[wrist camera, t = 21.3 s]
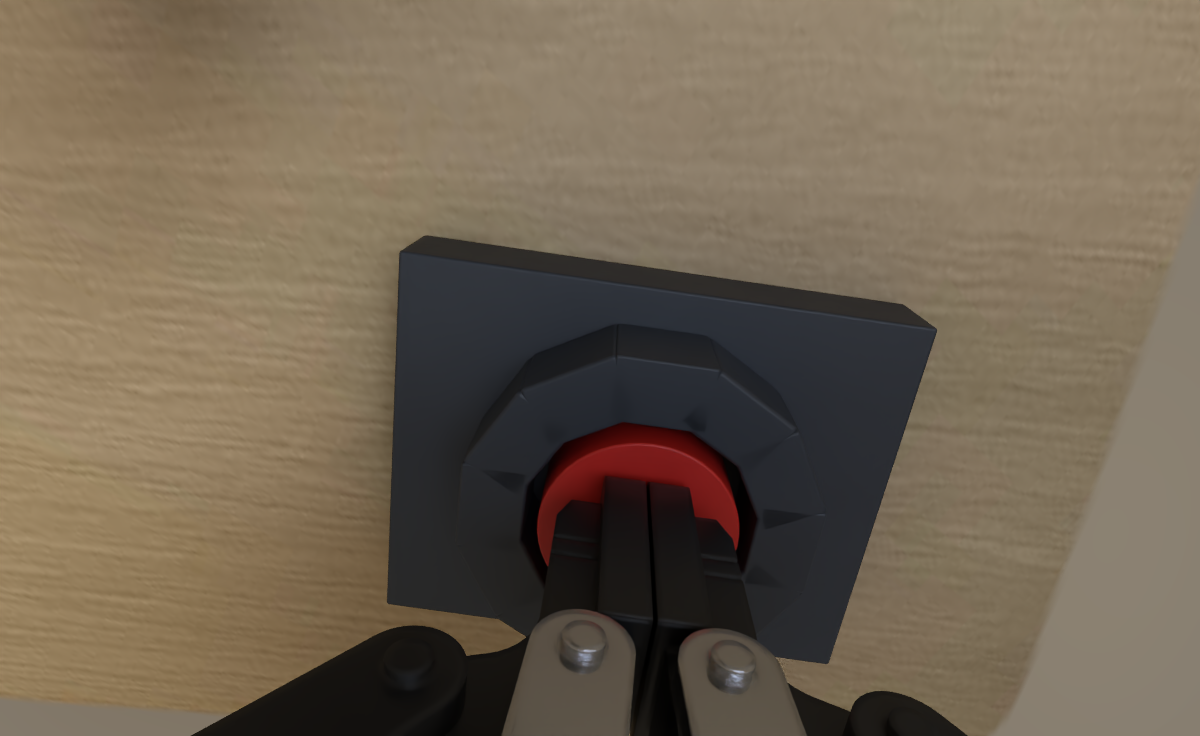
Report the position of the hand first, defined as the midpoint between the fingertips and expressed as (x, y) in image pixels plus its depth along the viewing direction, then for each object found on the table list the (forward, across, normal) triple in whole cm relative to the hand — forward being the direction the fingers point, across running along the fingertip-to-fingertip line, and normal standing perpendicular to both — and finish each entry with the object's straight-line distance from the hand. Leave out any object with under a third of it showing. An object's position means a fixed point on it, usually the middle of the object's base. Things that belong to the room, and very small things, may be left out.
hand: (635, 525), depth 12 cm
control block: (+4, 0, 0) cm, 4 cm away
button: (+2, 0, 0) cm, 2 cm away
